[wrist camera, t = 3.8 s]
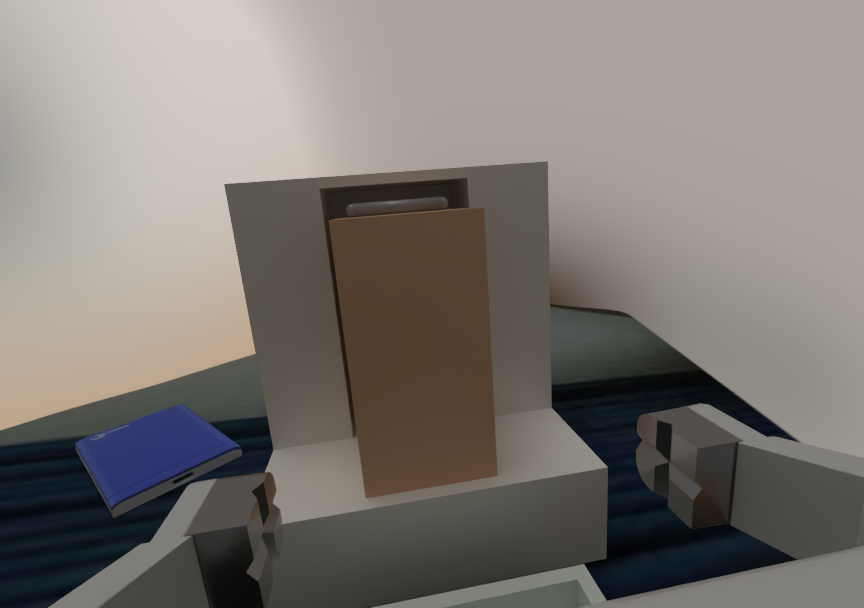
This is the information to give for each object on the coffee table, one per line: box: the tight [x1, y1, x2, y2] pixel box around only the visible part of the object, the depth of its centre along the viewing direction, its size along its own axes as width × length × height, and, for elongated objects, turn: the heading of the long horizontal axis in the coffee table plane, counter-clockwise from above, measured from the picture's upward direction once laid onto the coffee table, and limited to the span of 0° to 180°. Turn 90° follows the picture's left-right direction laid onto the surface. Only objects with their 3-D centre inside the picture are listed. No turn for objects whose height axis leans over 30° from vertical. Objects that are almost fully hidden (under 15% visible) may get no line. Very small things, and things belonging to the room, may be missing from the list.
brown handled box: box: [328, 197, 498, 498], centre depth 22 cm, size 6×10×13 cm, turn 9°
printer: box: [225, 162, 608, 608], centre depth 27 cm, size 16×20×20 cm
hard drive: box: [75, 404, 242, 518], centre depth 33 cm, size 2×8×12 cm
